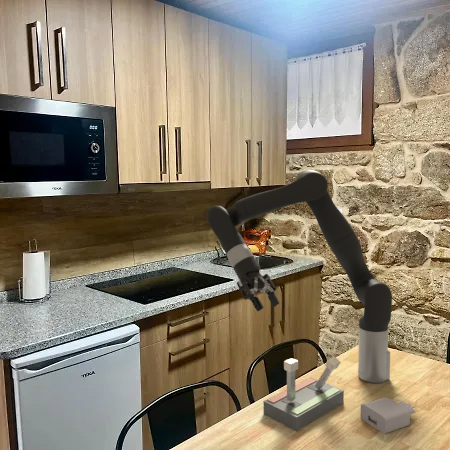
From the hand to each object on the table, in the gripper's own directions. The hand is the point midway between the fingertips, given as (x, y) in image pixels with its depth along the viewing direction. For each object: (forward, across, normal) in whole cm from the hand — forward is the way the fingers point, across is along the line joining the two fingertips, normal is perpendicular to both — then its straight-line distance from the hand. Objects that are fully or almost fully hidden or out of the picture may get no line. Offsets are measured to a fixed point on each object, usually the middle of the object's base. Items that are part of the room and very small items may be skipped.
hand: (268, 307), depth 131 cm
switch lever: (+26, -2, +8) cm, 27 cm away
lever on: (+26, +10, +6) cm, 29 cm away
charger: (+43, +14, -8) cm, 46 cm away
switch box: (+29, +4, +9) cm, 31 cm away
